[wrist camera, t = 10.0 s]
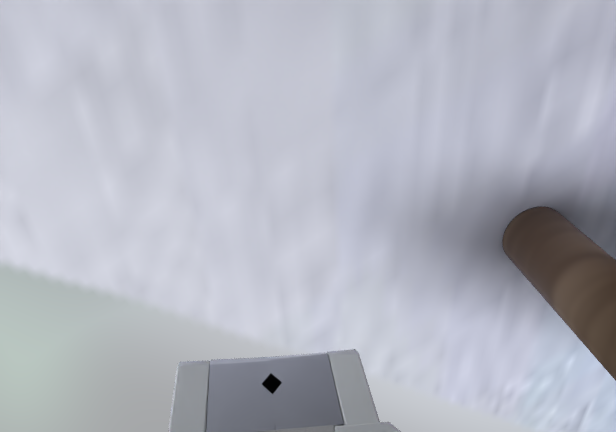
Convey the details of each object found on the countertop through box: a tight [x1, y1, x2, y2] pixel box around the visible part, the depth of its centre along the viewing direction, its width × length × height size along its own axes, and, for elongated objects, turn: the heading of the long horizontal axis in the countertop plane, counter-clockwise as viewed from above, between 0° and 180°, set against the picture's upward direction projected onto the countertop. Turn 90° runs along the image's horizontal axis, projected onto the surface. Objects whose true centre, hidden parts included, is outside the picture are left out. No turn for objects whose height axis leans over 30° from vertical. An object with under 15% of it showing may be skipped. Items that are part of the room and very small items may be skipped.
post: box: [503, 207, 616, 380], centre depth 21 cm, size 3×3×9 cm
